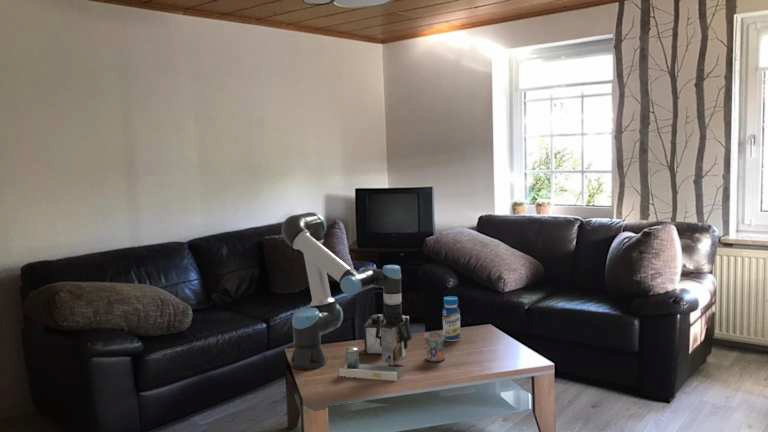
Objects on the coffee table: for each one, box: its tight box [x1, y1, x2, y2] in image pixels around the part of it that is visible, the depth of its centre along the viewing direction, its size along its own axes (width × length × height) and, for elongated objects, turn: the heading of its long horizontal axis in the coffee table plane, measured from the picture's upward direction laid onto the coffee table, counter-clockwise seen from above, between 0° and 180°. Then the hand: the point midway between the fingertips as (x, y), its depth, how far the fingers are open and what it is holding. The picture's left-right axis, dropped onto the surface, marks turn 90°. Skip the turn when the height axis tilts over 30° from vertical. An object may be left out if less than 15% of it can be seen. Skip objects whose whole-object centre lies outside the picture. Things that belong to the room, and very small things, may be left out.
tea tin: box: [345, 346, 360, 369], centre depth 252 cm, size 5×5×8 cm
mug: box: [423, 331, 446, 362], centre depth 264 cm, size 12×9×11 cm
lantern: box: [363, 289, 386, 356], centre depth 277 cm, size 11×11×28 cm
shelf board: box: [338, 363, 404, 382], centre depth 249 cm, size 24×10×3 cm, turn 72°
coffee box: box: [381, 321, 407, 366], centre depth 257 cm, size 9×6×16 cm
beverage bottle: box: [441, 295, 462, 342], centre depth 290 cm, size 8×8×20 cm
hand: (393, 355), depth 257 cm, fingers closed on coffee box, 8 cm apart
